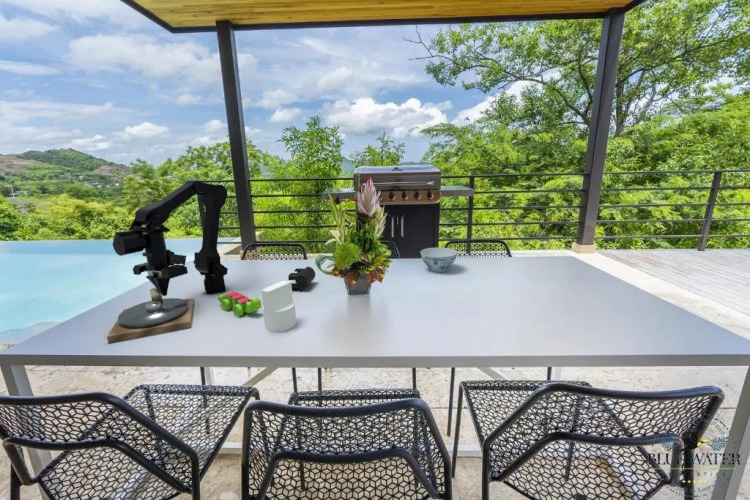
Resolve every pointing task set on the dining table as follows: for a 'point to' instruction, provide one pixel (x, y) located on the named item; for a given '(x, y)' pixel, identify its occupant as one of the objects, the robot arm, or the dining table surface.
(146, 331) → the wheel base
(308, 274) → the end cap
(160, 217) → the robot arm
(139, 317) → the handwheel
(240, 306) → the toy crocodile
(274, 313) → the base with upright slab
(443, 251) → the chinaware
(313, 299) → the dining table surface
